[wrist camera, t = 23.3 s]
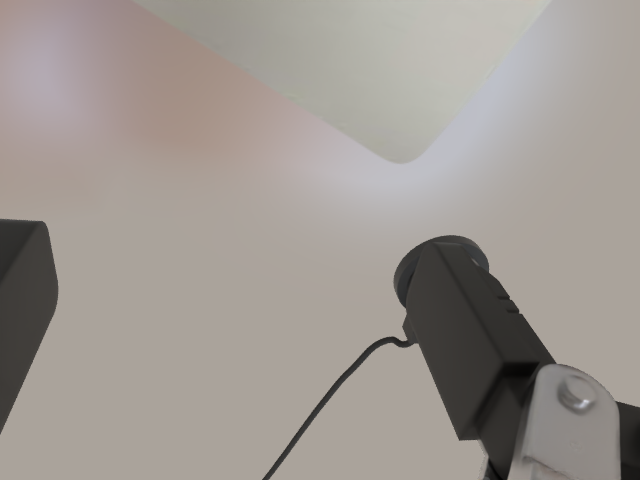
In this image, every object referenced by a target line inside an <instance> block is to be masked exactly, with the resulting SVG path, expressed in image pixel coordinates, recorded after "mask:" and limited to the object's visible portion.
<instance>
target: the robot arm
mask: <svg viewBox="0 0 640 480" xmlns="http://www.w3.org/2000/svg"><path fill="white" fill-rule="evenodd" d="M509 298H510V296H509V295H508V294H507V292H506V291H505V289H504V288H503V286H502V285H501V284H500V282H499V281H498V280H497V279H496V278H495V277H493V276H492V275H491V274H490V273H489V272H487V271H486V270H485V269H484V268H482V267H481V266H479V264H478V263H477V262H476V260H475V259H474V258H473V257H471V256H470V255H469V254H468V252H467V251H466V250H465V248H464V247H463V246H462V245H461V244H457V243H439V242H428V243H427V244H426V245H425V246H424V247H423V250H422V252H421V255H420V258H419V261H418V263H417V266H416V269H415V271H414V272H413V274H412V275H411V277H410V279H409V282H408V286H407V296H406V312H407V315H406V318H405V321H404V323H403V326H402V327H403V330H404V332H405V334H406V337H407V339H408V340H407V341H400V340H399V339H397V338H396V337H386V338H383V339H380V340H378V341H376V342H375V343H373V344H372V345H371V346H369V347H368V348H367V349H366V350H365V351H364V353H362V355H361V356H360V357H359V358H358V359H357V360H356V361H355V362H354V363H353V364H352V366H351V367H349V368H348V370H346V371H345V372H344V373H343V374H342V375H341V376H340V378H339V379H338V380H337V381H336V382H335V383H334V385H333V386H332V387H331V388H330V390H329V391H328V392H327V394H326V395H325V396H324V397H323V399H322V400H321V401H320V403H319V404H318V405H317V406H316V408H315V409H314V410H313V412H312V413H311V415H310V416H309V417H308V418H307V420H306V421H305V422H304V424H303V425H302V427H301V428H300V429H299V431H298V432H297V433H296V435H295V436H294V438H293V439H292V440H291V442H290V443H289V445H288V446H287V447H286V449H285V450H284V452H283V453H282V454H281V456H280V457H279V458H278V460H277V461H276V462H275V464H274V465H273V467H272V468H271V469H270V470H269V472H268V473H267V474H266V476H265V477H264V478H263V479H262V480H269V479H270V477H271V476H272V475H273V474H274V472H275V471H276V470H277V468H278V467H279V466H280V464H281V463H282V462H283V460H284V459H285V458H286V456H287V455H288V454H289V452H290V451H291V449H292V448H293V447H294V445H295V444H296V443H297V441H298V440H299V438H300V437H301V436H302V434H303V433H304V431H305V430H306V429H307V428H308V426H309V425H310V424H311V422H312V421H313V420H314V418H315V417H316V416H317V414H318V413H319V411H320V410H321V409H322V408H323V407H324V405H325V404H326V403H327V402H328V400H329V399H330V398H331V396H332V395H333V394H334V393H335V392H336V390H337V389H338V388H339V387H340V385H341V384H342V383H343V382H344V381H345V380H346V379H347V378H348V377H349V376H350V375H351V374H352V373H353V372H354V371H355V370H356V369H357V368H358V367H359V366H360V365H361V363H363V361H364V360H365V359H366V358H367V357H368V356H369V355H370V354H371V353H372V352H373V351H374V350H375V349H376V348H378V347H380V346H382V345H384V344H387V343H394V344H395V345H397V346H398V347H402V348H404V347H409V346H411V345H413V344H414V343H419V346H420V348H421V350H422V353H423V355H424V358H425V360H426V363H427V365H428V367H429V370H430V372H431V374H432V377H433V379H434V382H435V384H436V386H437V389H438V391H439V394H440V396H441V398H442V401H443V403H444V405H445V408H446V410H447V412H448V415H449V417H450V420H451V422H452V425H453V427H454V429H455V432H456V434H457V436H458V439H459V440H477V441H478V443H479V444H480V446H481V449H482V451H483V453H484V455H485V457H484V459H483V462H482V466H481V469H480V473H479V477H478V480H640V407H635V406H632V405H628V404H625V403H621V402H617V401H615V400H614V399H613V397H612V396H611V394H610V393H609V392H608V391H607V390H606V389H605V387H603V386H602V385H601V384H600V383H599V382H598V381H597V380H595V379H594V378H593V377H591V376H589V375H588V374H586V373H585V372H583V371H581V370H579V369H576V368H574V367H571V366H567V365H563V364H557V363H556V362H555V360H554V359H553V358H552V356H551V355H550V353H549V352H548V350H547V349H546V348H545V346H544V345H543V343H542V342H541V341H540V339H539V338H538V336H537V335H536V333H535V332H534V331H533V329H532V328H531V326H530V325H529V323H528V322H527V321H526V319H525V318H524V316H523V315H522V314H519V309H518V308H517V306H516V305H515V303H514V302H513V301H512V300H510V299H509ZM57 300H58V280H57V275H56V270H55V264H54V259H53V253H52V249H51V243H50V237H49V232H48V228H47V226H46V224H45V223H44V222H43V221H28V220H10V219H0V434H1V432H2V429H3V427H4V425H5V423H6V420H7V418H8V416H9V413H10V411H11V409H12V407H13V405H14V402H15V400H16V398H17V396H18V393H19V391H20V389H21V387H22V384H23V382H24V380H25V378H26V375H27V373H28V371H29V369H30V366H31V364H32V362H33V360H34V357H35V355H36V353H37V351H38V348H39V346H40V344H41V341H42V339H43V337H44V335H45V333H46V330H47V328H48V326H49V323H50V321H51V319H52V317H53V315H54V312H55V309H56V305H57Z"/></svg>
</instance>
